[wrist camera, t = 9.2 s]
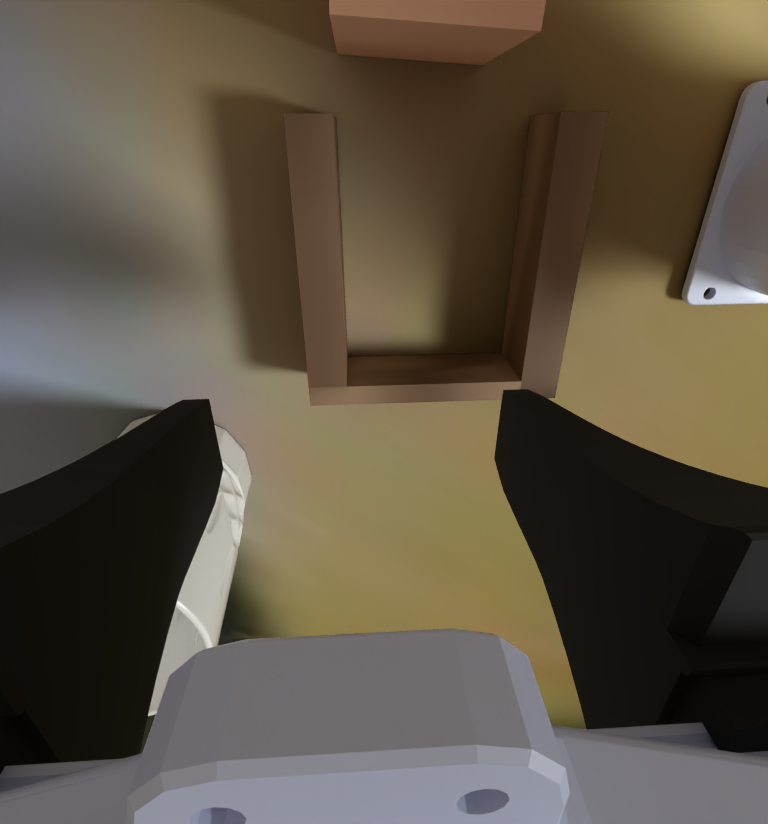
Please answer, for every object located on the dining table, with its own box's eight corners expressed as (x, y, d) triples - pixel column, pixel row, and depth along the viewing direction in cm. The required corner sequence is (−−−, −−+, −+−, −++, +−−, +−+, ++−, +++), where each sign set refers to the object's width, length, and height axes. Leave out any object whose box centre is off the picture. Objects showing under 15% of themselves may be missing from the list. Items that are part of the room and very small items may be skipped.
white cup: (63, 447, 23) (-112, 631, 14) (192, 370, 22) (82, 524, 13) (176, 548, 27) (90, 744, 18) (293, 488, 25) (261, 671, 16)
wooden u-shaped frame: (570, 115, 17) (608, 111, 15) (531, 367, 22) (554, 397, 20) (293, 117, 17) (283, 113, 14) (315, 374, 22) (310, 405, 19)
